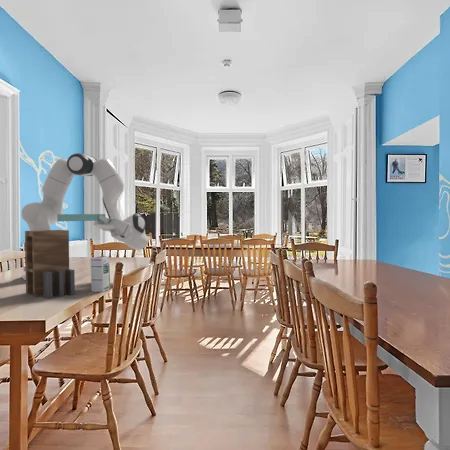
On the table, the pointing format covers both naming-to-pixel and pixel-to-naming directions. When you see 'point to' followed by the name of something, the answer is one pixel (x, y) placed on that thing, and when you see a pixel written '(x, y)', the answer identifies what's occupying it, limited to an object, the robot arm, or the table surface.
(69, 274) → the domino
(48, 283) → the domino
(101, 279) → the syrup box
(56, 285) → the domino
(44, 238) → the walnut stand
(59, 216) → the teal tile bar
